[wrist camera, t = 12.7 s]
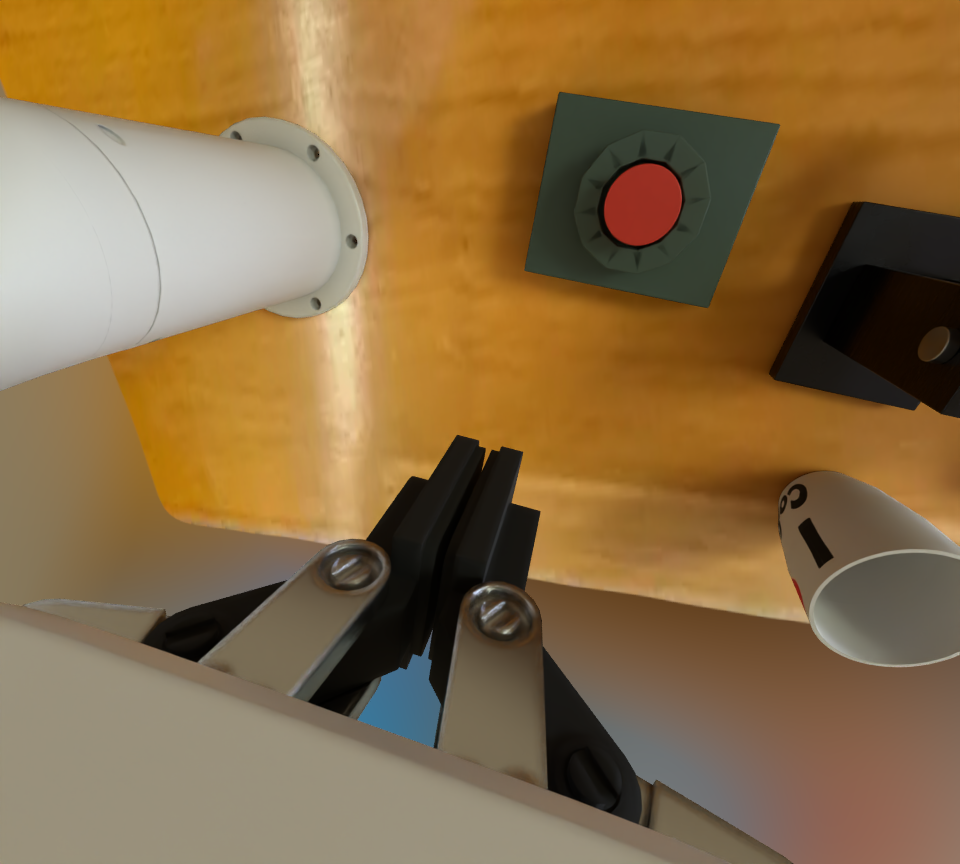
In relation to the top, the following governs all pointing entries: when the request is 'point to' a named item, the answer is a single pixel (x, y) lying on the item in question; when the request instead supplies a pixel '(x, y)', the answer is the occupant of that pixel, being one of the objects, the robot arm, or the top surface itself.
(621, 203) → the button
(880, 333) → the bracket
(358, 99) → the top surface
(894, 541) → the cup
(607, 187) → the button box
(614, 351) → the top surface
